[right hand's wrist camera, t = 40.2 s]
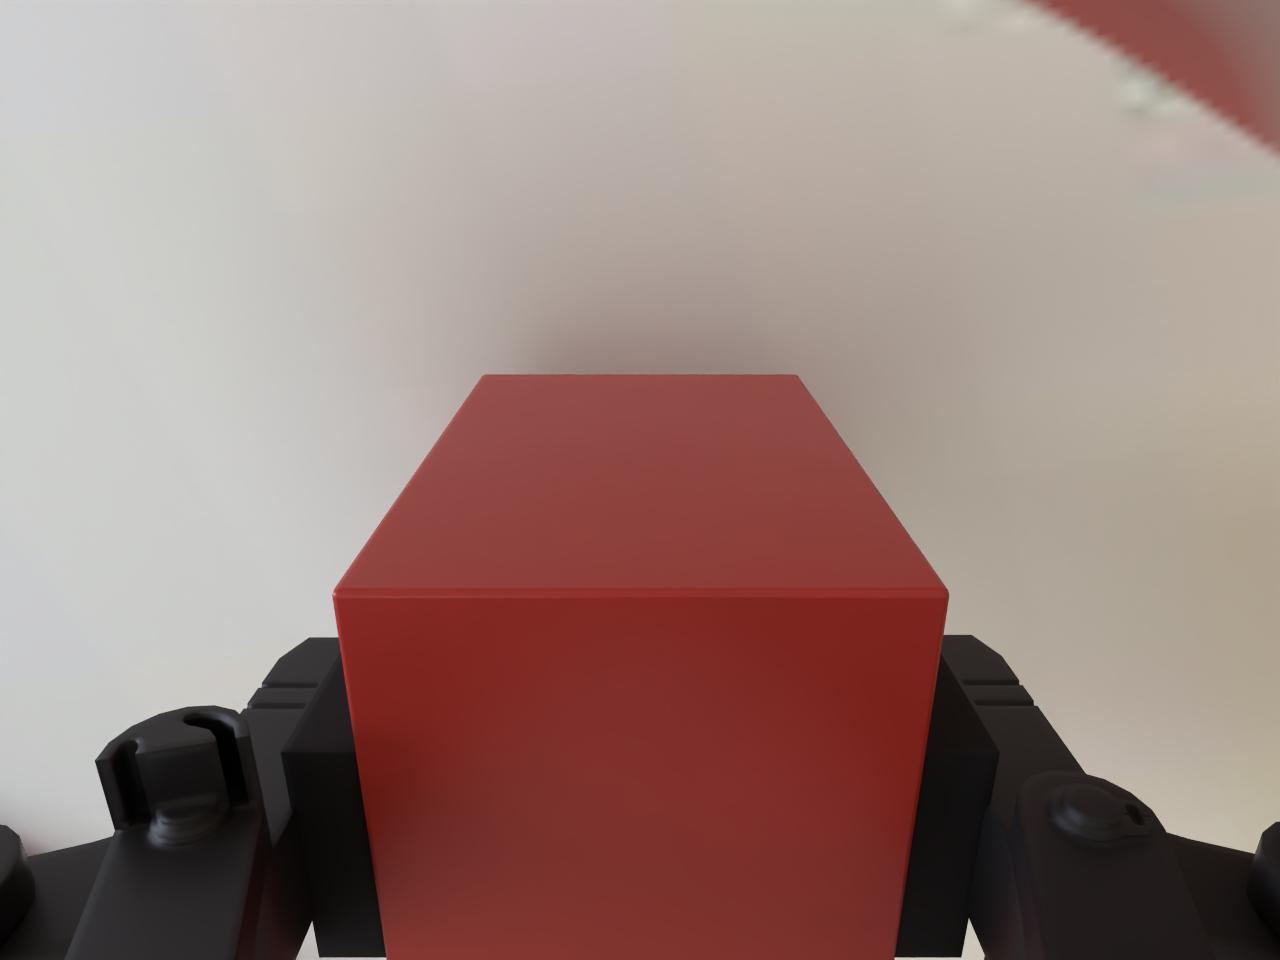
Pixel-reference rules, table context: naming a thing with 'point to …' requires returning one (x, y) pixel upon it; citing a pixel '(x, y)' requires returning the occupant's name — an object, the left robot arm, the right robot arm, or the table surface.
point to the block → (640, 679)
